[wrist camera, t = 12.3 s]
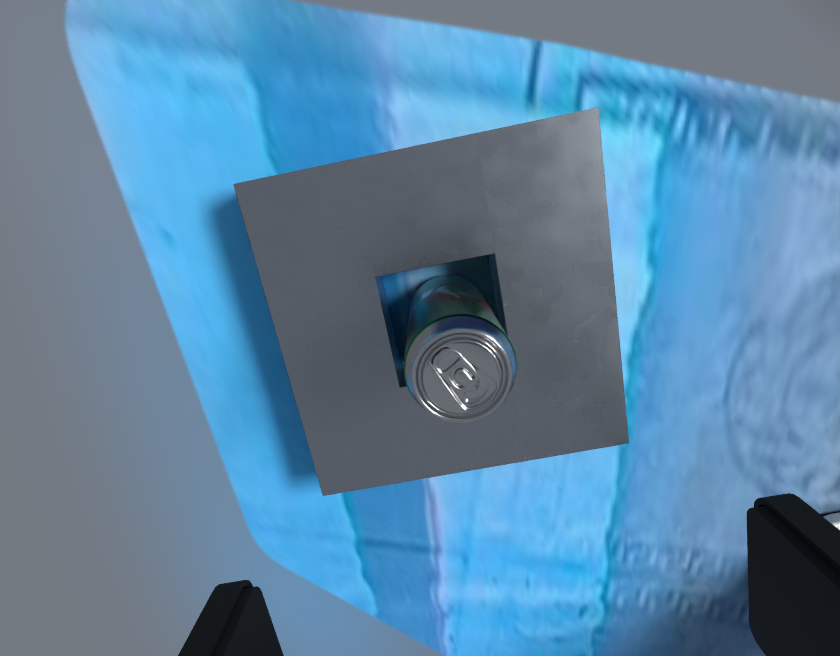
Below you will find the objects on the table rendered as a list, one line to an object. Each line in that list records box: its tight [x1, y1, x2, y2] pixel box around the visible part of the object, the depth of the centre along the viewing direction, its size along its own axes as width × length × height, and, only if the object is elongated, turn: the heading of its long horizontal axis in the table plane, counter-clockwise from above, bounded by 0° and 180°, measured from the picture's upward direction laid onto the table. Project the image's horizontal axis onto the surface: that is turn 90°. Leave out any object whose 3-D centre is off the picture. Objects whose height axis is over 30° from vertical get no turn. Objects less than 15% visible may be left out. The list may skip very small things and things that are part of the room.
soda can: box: [403, 275, 517, 423], centre depth 26 cm, size 5×5×12 cm
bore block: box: [233, 108, 629, 496], centre depth 30 cm, size 20×20×4 cm
